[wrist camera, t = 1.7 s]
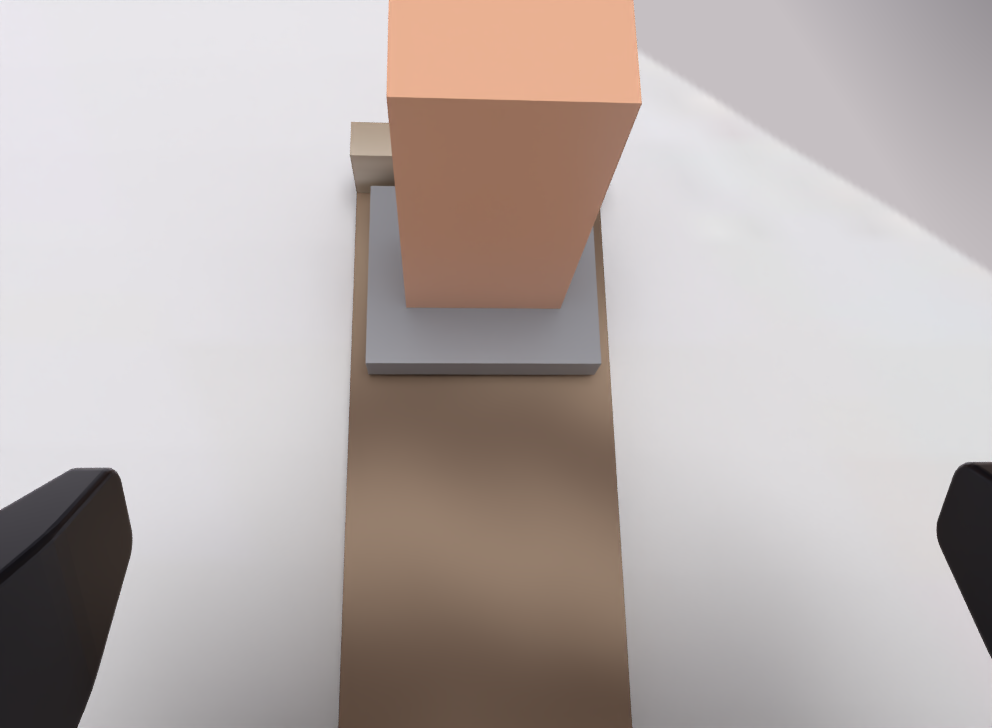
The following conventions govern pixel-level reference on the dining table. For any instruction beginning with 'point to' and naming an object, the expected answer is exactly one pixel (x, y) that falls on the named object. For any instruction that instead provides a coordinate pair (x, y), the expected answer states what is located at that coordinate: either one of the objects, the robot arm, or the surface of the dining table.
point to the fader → (497, 184)
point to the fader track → (478, 534)
